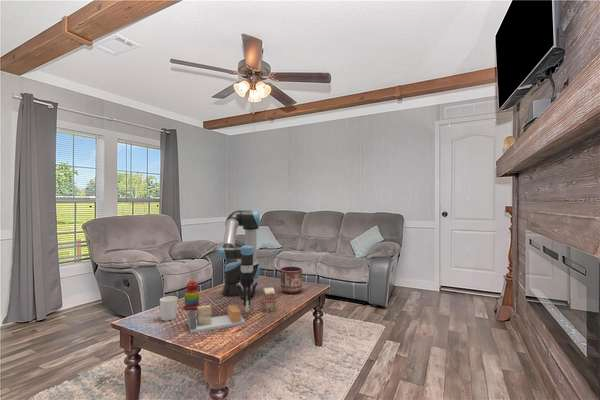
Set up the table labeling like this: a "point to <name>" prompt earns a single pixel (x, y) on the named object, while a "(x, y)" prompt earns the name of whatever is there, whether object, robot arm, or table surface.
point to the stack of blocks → (269, 299)
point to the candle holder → (168, 308)
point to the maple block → (204, 315)
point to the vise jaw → (234, 313)
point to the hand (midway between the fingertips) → (246, 310)
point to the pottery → (291, 279)
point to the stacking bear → (192, 296)
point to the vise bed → (215, 323)
